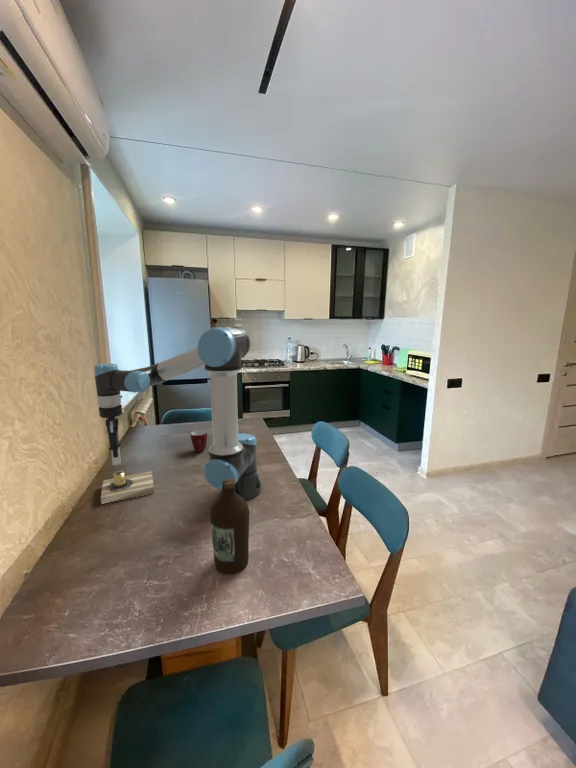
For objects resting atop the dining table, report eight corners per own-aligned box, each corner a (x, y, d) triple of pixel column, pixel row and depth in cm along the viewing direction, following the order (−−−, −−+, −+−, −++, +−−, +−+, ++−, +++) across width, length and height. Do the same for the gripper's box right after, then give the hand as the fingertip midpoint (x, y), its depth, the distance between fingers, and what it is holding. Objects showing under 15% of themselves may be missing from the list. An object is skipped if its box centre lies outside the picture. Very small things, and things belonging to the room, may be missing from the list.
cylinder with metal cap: (126, 493, 123) (124, 474, 121) (115, 495, 121) (113, 476, 120) (126, 488, 126) (124, 469, 125) (115, 490, 125) (113, 472, 123)
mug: (209, 454, 158) (208, 436, 156) (193, 457, 155) (191, 438, 153) (206, 446, 168) (205, 429, 166) (191, 449, 165) (190, 431, 163)
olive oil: (225, 544, 95) (222, 469, 90) (257, 554, 91) (255, 475, 86) (204, 570, 85) (199, 487, 80) (238, 582, 81) (235, 495, 76)
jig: (154, 493, 123) (153, 486, 122) (101, 505, 115) (100, 497, 114) (152, 477, 135) (151, 471, 134) (104, 487, 127) (103, 480, 127)
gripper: (121, 408, 112) (127, 468, 117) (121, 400, 124) (127, 455, 129) (96, 411, 109) (104, 473, 114) (99, 402, 120) (106, 458, 125)
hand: (116, 463), depth 121 cm, fingers closed
